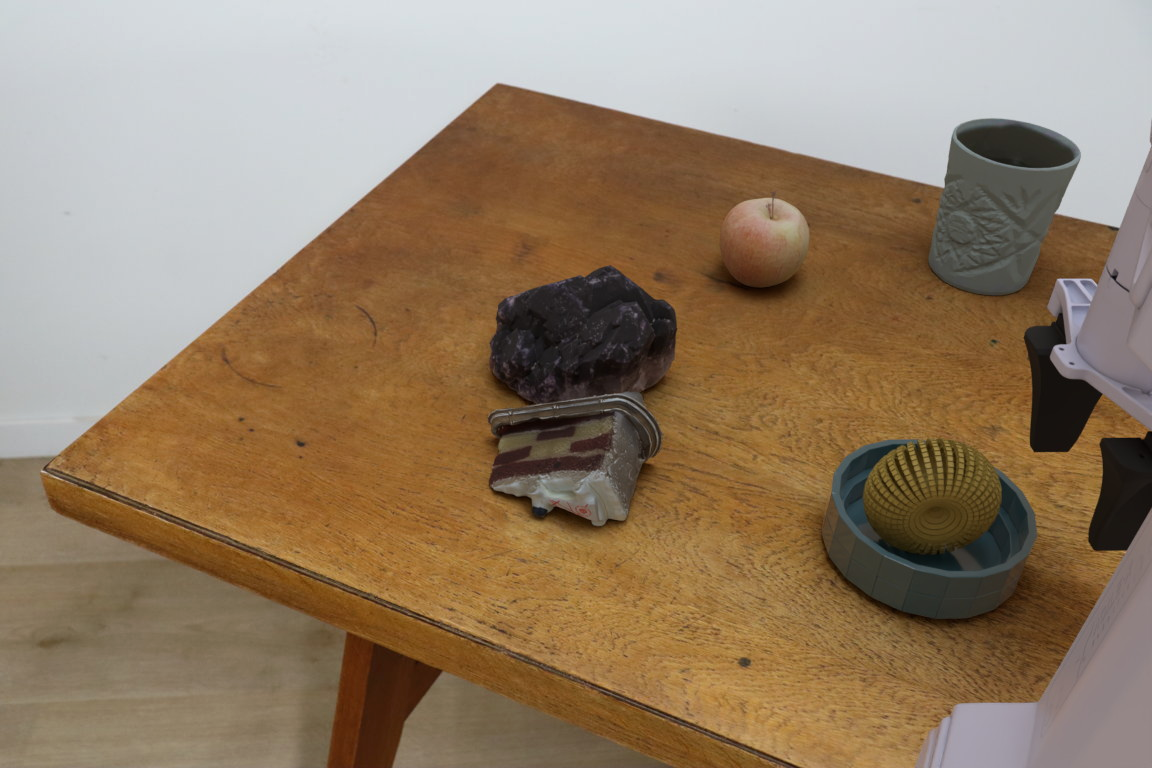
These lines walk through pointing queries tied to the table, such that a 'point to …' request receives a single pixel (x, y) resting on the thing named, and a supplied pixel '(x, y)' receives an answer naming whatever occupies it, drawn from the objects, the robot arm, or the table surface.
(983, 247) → the green vase
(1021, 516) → the bowl
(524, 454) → the chocolate cake
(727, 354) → the table surface
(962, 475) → the sculpture
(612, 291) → the crystal cluster
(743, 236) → the fruit
